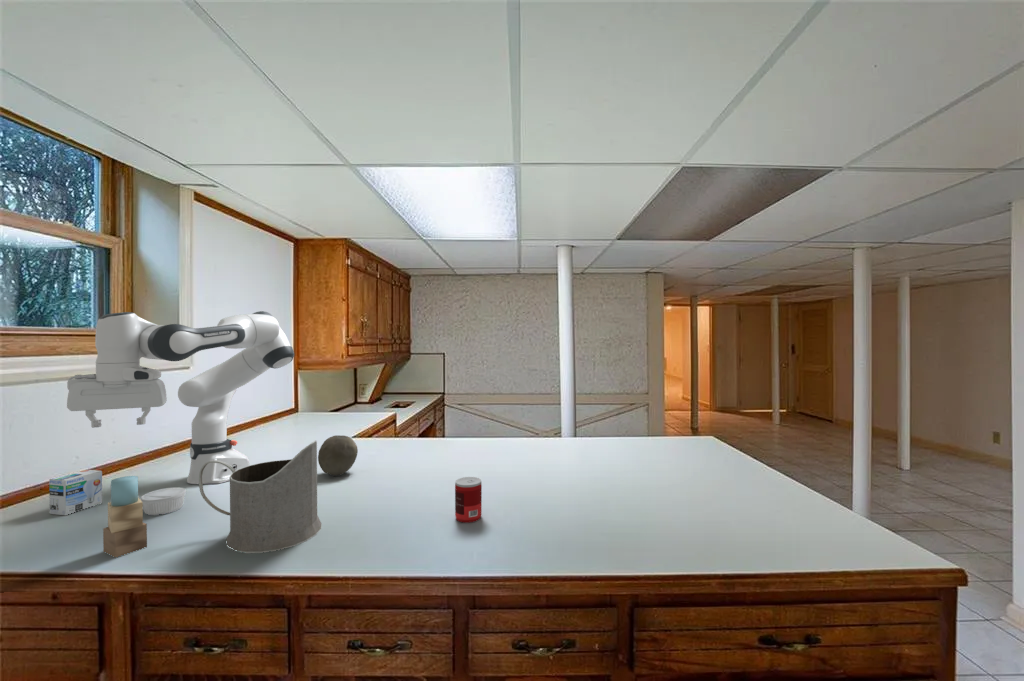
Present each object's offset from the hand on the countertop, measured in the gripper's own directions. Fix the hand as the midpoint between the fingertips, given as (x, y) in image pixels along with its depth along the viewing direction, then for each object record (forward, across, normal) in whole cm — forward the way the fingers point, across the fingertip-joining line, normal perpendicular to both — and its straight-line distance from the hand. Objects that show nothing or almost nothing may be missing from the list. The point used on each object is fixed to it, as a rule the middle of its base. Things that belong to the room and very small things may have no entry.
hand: (119, 425), depth 122 cm
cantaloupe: (+31, +55, +38) cm, 74 cm away
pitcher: (+31, +34, -10) cm, 47 cm away
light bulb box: (+31, -21, +32) cm, 49 cm away
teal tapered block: (+18, +3, -8) cm, 20 cm away
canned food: (+30, +89, -22) cm, 97 cm away
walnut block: (+30, +3, -8) cm, 31 cm away
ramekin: (+31, +4, +21) cm, 37 cm away
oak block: (+24, +3, -8) cm, 26 cm away
